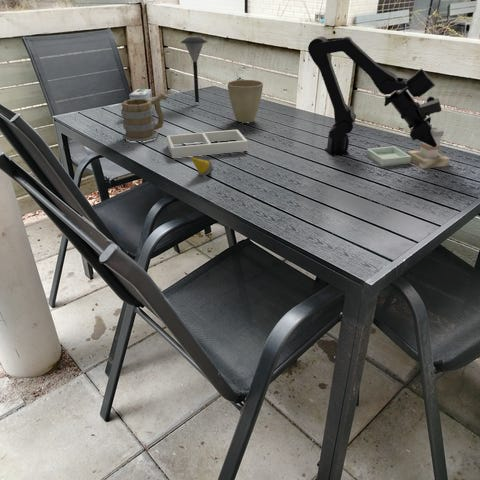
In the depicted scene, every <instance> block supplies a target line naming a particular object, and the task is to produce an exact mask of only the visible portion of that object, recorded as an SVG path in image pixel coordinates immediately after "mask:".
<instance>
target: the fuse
mask: <svg viewBox="0 0 480 480" xmlns="http://www.w3.org/2000/svg"><path fill="white" fill-rule="evenodd" d="M444 133H445V131H444V130H442V129H440V128H438V127H432V128H431V134H432V136H433V138H434V140H435V142H436V144H437V146H436V147H432V146H430V145H428V144H426V143H424V142H422V141H421V142H420V149H419V150H420V153H419V155H420V156H422V157H424V158H425V159H428V158H436V157H437V155H438V152H439V150H440V145H441V142H442V137H443V136H444Z"/></svg>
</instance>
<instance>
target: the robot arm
mask: <svg viewBox="0 0 480 480" xmlns="http://www.w3.org/2000/svg"><path fill="white" fill-rule="evenodd" d="M307 51H308V54H309V56H310V57H311V60H312V61H313V63H314V64H315V66H317V68H318V69H319V72H320V74H321V77H322V80H323V83H324V86H325V88H326V91H327V93H328V96H329V100H330V102H331V105H332V108H333V116H334V124H333V125H332V126H331V128H330V129H329V131H328V134H327V135H328V136H327V146H326V147H325V148H324V150H325V151H326V153H328V154H330V155H331V156H338V155H339V156H340V155H341V156H342V155H349V153H350V152H349V151H348V150H349V146H350V145H349V143H350V139H349V135H348V134H349V133H351V132H352V131H353V129H354V126H355V124H356V118H357V115H356V114H355V112H354V105H351V106H348V104H347V103H346V101H345V99H344V95H343V92H342V90H341V86H340V85H339V84H340V83H339V81H338V77H337V75H336V73H335V69H334V67H333V64H332V54H334V53H339V52H342V53H344V54H345V55H346V56H347V57H349V59H351V60H352V62H354V63H355V64H356V65H357V66H358V67H359V68H360V69H362V71H363V72H364V73H365V74H366V75H368V76H369V78H370V79H371V80H372V82H373V84H374V85H375V87H376V88H377V90H378V91H379V92H380V93H381V94H382V95H384V105H383V106H384V107H387V106H389V104H391V105H392V106H393V108H395V110H396V111H397V112H398V114H399V115H400V118H401V119H402V120H404V121H405V123H406V124H407V127H408V128H409V129H410V131H409V136H410V138H411V139H412V140H413V141H416V140H417V141H419V142H421V143H422V142H424V143H426V144H428V145H430V146H432V147H436V146H437V144H436V142H435V140H434V138H433V136H432V134H431V128H433V126H432V124H431V120H432V118H431V115H432V114H434V113H437V114H438V113H440V112H441V111H442V106H441V102H440V99H439V98H438V97H436V98H435V97H434V96H433V95H431V96H428V97H427V98H426V101H424V103H422V104H420V103H419V102H417V101H415V100H414V98H417V97H418V98H420V97H422V96H423V95H425V94H426V93H428V91H430V90H432V89H433V88H434V87H436V84H435V82H434V81H433V79H432V77H431V76H430V75H429V74H428V73H426V71H425V70H424V69H423V68H420V69H418V70H417V71H416V72H415V74H413V75H412V76H411V77H410V78H405V77H404V78H403V77H398V75H396V74H395V73H394V72H392V71H390V70H389V69H387V68H385V67H383V66H381V65H380V64H378V63H377V62H376V61H375V60H374V59H373V58H372V57H370V56H369V55H368V54H367V53H366V52H365V51H364V50H363V49H362V48H361V47H360V46H358V45H357V44H356V42H355V41H353V39H352V38H351V37H350V36H344V37H333V38H331V37H330V38H327V37H324V36H317V37H315V38H314V39H312V40H311V41H310V42H309V44H308V46H307Z"/></svg>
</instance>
